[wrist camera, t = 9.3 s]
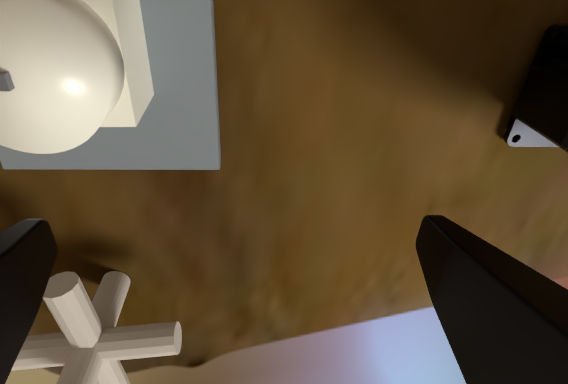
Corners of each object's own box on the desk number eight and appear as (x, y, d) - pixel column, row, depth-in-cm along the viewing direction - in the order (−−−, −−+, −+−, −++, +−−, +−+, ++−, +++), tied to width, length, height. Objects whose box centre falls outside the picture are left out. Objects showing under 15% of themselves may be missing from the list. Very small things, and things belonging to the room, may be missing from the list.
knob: (135, -27, 15) (81, -11, 10) (154, 94, 18) (119, 156, 13) (2, -32, 15) (-127, -16, 10) (42, 94, 18) (-41, 159, 12)
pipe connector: (10, 230, 23) (-125, 392, 15) (174, 216, 24) (134, 367, 15) (68, 333, 29) (-6, 493, 20) (201, 320, 29) (182, 473, 21)
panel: (206, -143, 14) (189, -174, 11) (220, 159, 22) (214, 207, 18) (-125, -168, 13) (-278, -213, 9) (6, 158, 21) (-52, 209, 17)
